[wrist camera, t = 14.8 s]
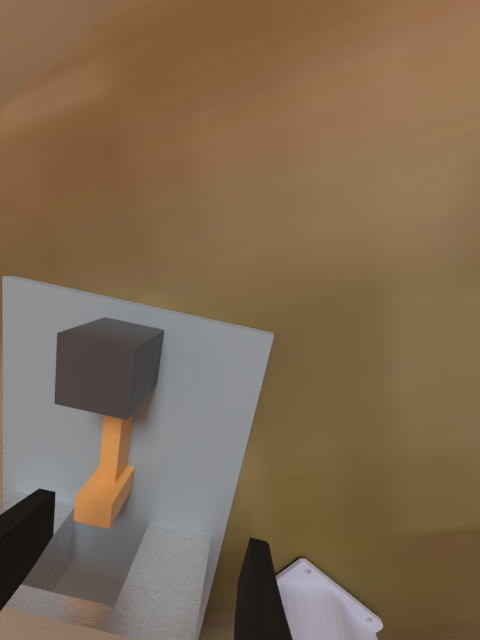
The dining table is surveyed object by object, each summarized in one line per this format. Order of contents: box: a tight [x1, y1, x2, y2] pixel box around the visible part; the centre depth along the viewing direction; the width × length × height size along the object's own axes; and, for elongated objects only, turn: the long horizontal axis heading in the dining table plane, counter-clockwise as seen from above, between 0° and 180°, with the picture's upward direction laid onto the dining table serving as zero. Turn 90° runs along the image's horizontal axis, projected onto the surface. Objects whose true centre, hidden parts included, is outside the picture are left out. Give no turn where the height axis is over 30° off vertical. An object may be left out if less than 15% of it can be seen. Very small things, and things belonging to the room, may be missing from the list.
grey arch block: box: [0, 491, 211, 640], centre depth 17 cm, size 6×16×6 cm, turn 78°
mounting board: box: [3, 276, 274, 640], centre depth 21 cm, size 39×18×1 cm, turn 168°
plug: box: [54, 317, 164, 529], centre depth 16 cm, size 13×4×4 cm, turn 169°
